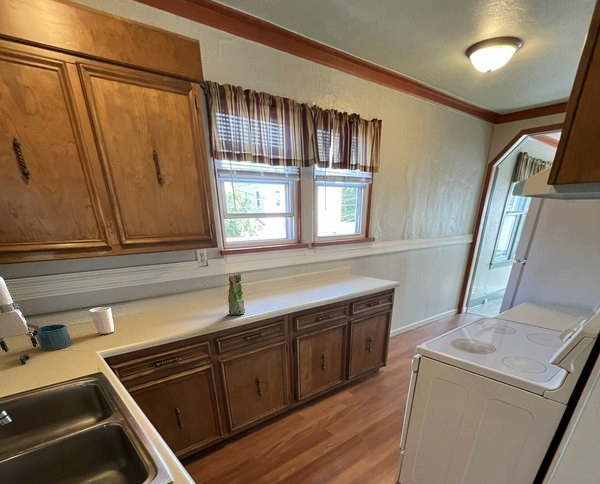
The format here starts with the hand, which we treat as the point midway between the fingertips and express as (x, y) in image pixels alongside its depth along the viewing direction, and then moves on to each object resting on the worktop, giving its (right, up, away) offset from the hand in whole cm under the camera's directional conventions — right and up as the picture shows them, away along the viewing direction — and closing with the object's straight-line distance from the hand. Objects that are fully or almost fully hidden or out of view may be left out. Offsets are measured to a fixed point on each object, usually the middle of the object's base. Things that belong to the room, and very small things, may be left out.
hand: (21, 348), depth 137 cm
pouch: (+78, +30, +70) cm, 109 cm away
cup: (+14, +12, +36) cm, 41 cm away
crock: (+1, +3, +18) cm, 19 cm away
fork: (-1, -5, +2) cm, 6 cm away
